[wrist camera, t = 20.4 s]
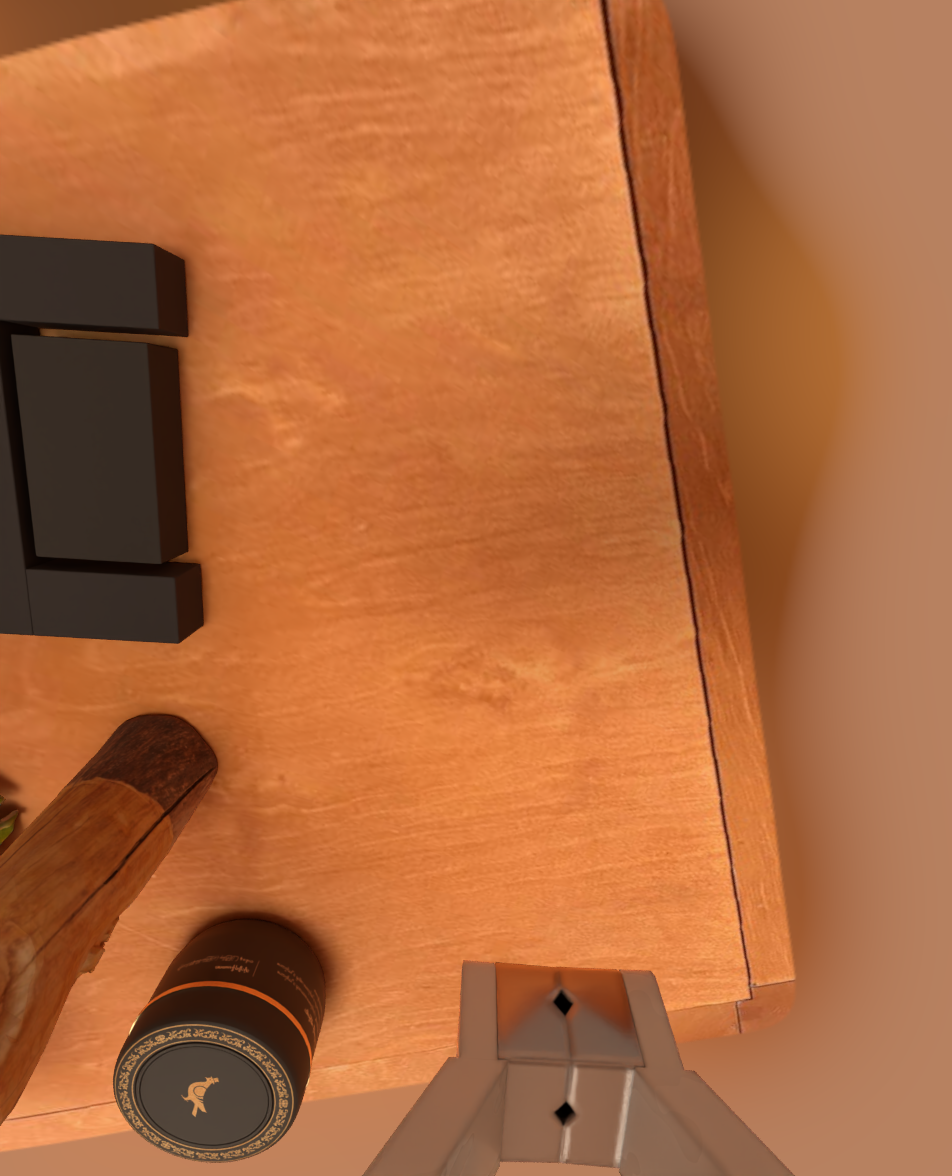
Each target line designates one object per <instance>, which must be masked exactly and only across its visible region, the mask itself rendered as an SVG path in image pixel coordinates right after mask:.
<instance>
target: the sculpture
mask: <svg viewBox="0 0 952 1176" xmlns="http://www.w3.org/2000/svg"><path fill="white" fill-rule="evenodd" d="M216 772H217V761H216V758H215V756H214V753H213V751H212V750H211V749H210V748H209V747H208V745H207V744H206V743H205V742H204V740H203V739H202V738H201V737H200V735H199V734H198V733H197V732H196V731H195V730H194V729H193V728H192V727H191V726H189V725H188V724H187V723H185V722H184V721H182V720H181V719H178V718H176V717H173V716H166V715H145V716H138V717H135V718H133V719H130V720H127V721H126V722H124V723H123V724H122V725H121V726H119V727H118V728H117V730H116V731H115V732H114V733H113V734H112V736H111V737H110V738H109V739H108V740H107V742H106V743H105V744H104V745H103V747H102V748H101V749H100V750H99V751H98V753H97V754H96V755H95V756H94V757H93V758H92V759H91V760H90V761H89V762H88V763H87V764H86V765H85V766H84V767H83V768H82V769H81V770H80V772H79V773H78V774H77V775H76V776H75V777H74V778H73V779H72V780H71V781H70V782H69V783H68V784H67V785H66V786H65V787H64V788H63V789H62V791H61V792H60V793H59V794H58V796H57V797H56V798H55V799H54V800H53V801H52V802H51V803H50V804H49V805H48V806H47V808H46V809H45V810H44V811H43V812H42V813H41V814H40V815H39V816H38V817H37V818H36V819H35V820H34V821H33V822H32V823H31V824H30V826H29V827H28V828H27V829H26V830H25V831H24V832H23V833H22V834H21V835H20V836H19V837H18V838H17V839H16V840H15V841H14V842H13V843H12V844H11V845H10V846H9V847H8V849H7V850H6V851H5V852H4V853H3V854H2V855H1V856H0V1126H1V1124H2V1123H3V1122H4V1120H5V1119H6V1118H7V1116H8V1115H9V1114H10V1113H11V1111H12V1110H13V1109H14V1107H15V1105H16V1104H17V1102H18V1100H19V1098H20V1096H21V1095H22V1093H23V1091H24V1089H25V1087H26V1085H27V1083H28V1081H29V1079H30V1077H31V1075H32V1073H33V1071H34V1069H35V1067H36V1065H37V1063H38V1061H39V1059H40V1057H41V1055H42V1054H43V1052H44V1049H45V1047H46V1045H47V1043H48V1040H49V1038H50V1036H51V1034H52V1032H53V1029H54V1027H55V1025H56V1022H57V1020H58V1017H59V1015H60V1013H61V1010H62V1008H63V1006H64V1003H65V1001H66V999H67V996H68V994H69V991H70V989H71V987H72V986H73V984H74V983H75V981H76V980H77V978H78V977H79V976H81V975H82V974H83V973H87V972H89V973H91V972H93V971H94V969H95V966H96V965H97V963H98V962H99V960H100V958H101V956H102V955H103V953H104V952H105V949H104V948H103V947H104V945H105V944H104V942H107V941H108V940H109V938H110V935H111V933H112V931H113V929H114V927H115V925H116V923H117V922H118V920H119V915H120V914H121V913H122V912H123V911H124V910H125V909H126V908H127V907H128V906H129V905H130V904H131V903H132V902H133V901H134V900H135V898H136V897H137V896H138V894H139V893H140V892H141V890H142V889H143V888H144V886H145V885H146V883H147V882H148V881H149V879H150V878H151V876H152V875H153V873H154V872H155V871H156V869H157V868H158V866H159V865H160V863H161V862H162V860H163V859H164V858H165V856H166V855H167V854H168V852H169V851H170V849H171V848H172V846H173V844H174V843H175V841H176V840H177V838H178V836H179V835H180V833H181V832H182V830H183V829H184V827H185V825H186V824H187V822H188V821H189V819H190V817H191V816H192V814H193V813H194V811H195V809H196V808H197V806H198V804H199V803H200V801H201V800H202V798H203V797H204V795H205V794H206V792H207V790H208V789H209V787H210V785H211V783H212V781H213V779H214V777H215V774H216Z"/></svg>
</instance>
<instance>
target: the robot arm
mask: <svg viewBox="0 0 952 1176" xmlns="http://www.w3.org/2000/svg"><path fill="white" fill-rule="evenodd" d="M500 1162H542V1163H544V1162H547V1163H566V1164H577V1165H589V1166H600V1167H611V1168H620V1169H619V1173H620V1174H621V1176H795V1175H794V1174H793V1173H792V1172H790V1170H789V1169H788V1168H787V1167H786V1166H785V1165H784V1164H783V1163H782V1162H781V1161H780V1160H779V1159H778V1158H777V1157H776V1156H775V1155H774V1153H773V1152H772V1151H771V1150H770V1149H769V1148H768V1147H767V1146H766V1145H765V1144H764V1143H763V1142H762V1141H761V1140H760V1139H759V1138H758V1137H757V1136H756V1135H755V1134H754V1133H753V1132H752V1131H751V1129H750V1128H748V1126H747V1125H746V1124H745V1123H744V1122H743V1121H742V1120H741V1119H740V1118H739V1117H738V1116H737V1115H736V1114H735V1113H734V1112H733V1111H732V1110H731V1109H730V1108H729V1106H727V1104H726V1103H725V1102H724V1101H723V1100H722V1099H721V1098H720V1097H719V1096H718V1095H717V1094H716V1093H715V1092H714V1091H713V1090H712V1089H711V1088H710V1087H709V1086H708V1085H707V1084H706V1083H705V1081H703V1079H702V1078H701V1077H700V1076H699V1075H698V1074H697V1073H696V1072H695V1071H690V1070H684V1068H683V1064H682V1061H681V1058H680V1055H679V1052H678V1048H677V1045H676V1042H675V1039H674V1035H673V1032H672V1029H671V1026H670V1023H669V1019H668V1016H667V1013H666V1010H665V1007H664V1003H663V1000H662V997H661V994H660V991H659V987H658V984H657V981H656V978H655V976H654V974H653V973H652V972H651V971H641V970H619V971H618V970H616V969H594V968H572V967H547V966H535V965H523V964H511V963H499V962H495V964H494V963H489V962H478V961H467V960H463V965H462V977H461V992H460V1008H459V1023H458V1039H457V1054H456V1057H449V1058H448V1059H447V1060H446V1062H445V1063H444V1064H443V1066H442V1067H441V1069H440V1070H439V1071H438V1073H437V1074H436V1075H435V1077H434V1078H433V1080H432V1081H431V1082H430V1084H429V1085H428V1086H427V1088H426V1089H425V1090H424V1092H423V1093H422V1095H421V1096H420V1097H419V1099H418V1100H417V1101H416V1103H415V1104H414V1106H413V1107H412V1108H411V1110H410V1111H409V1112H408V1114H407V1115H406V1117H405V1118H404V1119H403V1121H402V1122H401V1124H400V1125H399V1126H398V1127H397V1129H396V1130H395V1132H394V1133H393V1134H392V1136H391V1137H390V1139H389V1140H388V1141H387V1143H386V1144H385V1145H384V1147H383V1148H382V1149H381V1151H380V1152H379V1154H378V1155H377V1156H376V1158H375V1159H374V1160H373V1162H372V1163H371V1164H370V1166H369V1167H368V1169H367V1170H366V1171H365V1173H364V1174H363V1175H362V1176H495V1175H496V1172H497V1170H498V1168H499V1166H500Z"/></svg>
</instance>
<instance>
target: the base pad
mask: <svg viewBox="0 0 952 1176" xmlns="http://www.w3.org/2000/svg"><path fill="white" fill-rule="evenodd" d="M38 328H47V329H64V330H81V331H98V332H115V333H131V334H148V335H165V336H182V337H187V336H188V323H187V304H186V285H185V266H184V260H183V259H181V258H179V257H177V256H175V255H173V254H171V253H169V252H168V251H166V250H164V249H162V248H160V247H158V246H156V245H154V244H147V243H131V242H114V241H97V240H81V239H64V238H47V237H31V236H14V235H0V633H2V634H20V635H37V636H54V637H72V638H89V639H107V640H124V641H142V642H159V643H177V644H178V643H180V642H182V641H183V640H184V639H186V638H187V637H188V636H190V635H191V634H192V633H194V632H195V631H196V630H198V629H199V628H200V627H202V626H203V606H202V587H201V568H200V564H190V563H172V562H164V563H162V564H150V563H134V562H118V561H102V560H86V559H70V558H54V557H38V556H36V549H35V540H34V532H33V523H32V514H31V505H30V497H29V488H28V479H27V470H26V462H25V453H24V444H23V436H22V427H21V418H20V409H19V401H18V392H17V383H16V374H15V366H14V357H13V348H12V340H11V335H12V334H17V335H32V336H39V330H38Z"/></svg>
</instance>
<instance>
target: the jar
mask: <svg viewBox="0 0 952 1176" xmlns="http://www.w3.org/2000/svg"><path fill="white" fill-rule="evenodd" d="M324 1011H325V981H324V975H323V971H322V968H321V965H320V963H319V961H318V959H317V957H316V956H315V954H314V953H313V952H312V950H311V949H310V948H309V946H308V945H307V944H306V943H305V942H304V941H303V940H302V939H301V938H300V937H298V936H297V935H296V934H294V933H293V932H291V931H290V930H288V929H286V928H284V927H282V926H280V925H277V924H274V923H271V922H267V921H263V920H255V919H240V920H233V921H229V922H224V923H221V924H218V925H215V926H212V927H210V928H208V929H207V930H205V931H203V932H202V933H200V934H199V935H198V936H196V937H195V938H194V939H193V940H192V941H191V942H190V943H189V944H188V945H187V946H186V947H185V948H184V949H183V950H182V951H181V952H180V953H179V954H178V955H177V956H176V958H175V959H174V960H173V962H172V963H171V964H170V966H169V968H168V969H167V971H166V973H165V974H164V976H163V978H162V980H161V981H160V983H159V985H158V987H157V988H156V990H155V992H154V994H153V995H152V997H151V999H150V1001H149V1002H148V1004H147V1005H146V1006H145V1007H144V1008H143V1010H142V1011H141V1012H140V1013H139V1015H138V1017H137V1018H136V1020H135V1022H134V1024H133V1025H132V1028H131V1030H130V1033H129V1036H128V1037H127V1039H126V1041H125V1043H124V1045H123V1047H122V1049H121V1052H120V1054H119V1056H118V1059H117V1062H116V1065H115V1069H114V1076H113V1089H114V1095H115V1099H116V1102H117V1104H118V1107H119V1109H120V1111H121V1113H122V1114H123V1116H124V1118H125V1119H126V1121H127V1122H128V1123H129V1125H130V1126H131V1127H132V1128H133V1129H134V1130H135V1131H136V1132H137V1133H138V1134H139V1135H140V1136H141V1137H143V1138H144V1139H145V1140H146V1141H148V1142H149V1143H151V1144H152V1145H154V1146H156V1147H158V1148H159V1149H161V1150H163V1151H165V1152H168V1153H170V1154H172V1155H175V1156H178V1157H181V1158H185V1159H189V1160H194V1161H200V1162H211V1163H216V1162H217V1163H221V1162H231V1161H237V1160H242V1159H245V1158H249V1157H252V1156H254V1155H257V1154H259V1153H261V1152H263V1151H265V1150H267V1149H268V1148H270V1147H272V1146H273V1145H274V1144H276V1143H277V1142H278V1141H279V1140H280V1139H281V1138H282V1137H283V1136H284V1135H285V1134H286V1132H287V1131H288V1130H289V1129H290V1127H291V1126H292V1124H293V1122H294V1120H295V1118H296V1116H297V1113H298V1111H299V1108H300V1105H301V1103H302V1099H303V1096H304V1093H305V1089H306V1087H307V1084H308V1081H309V1077H310V1073H311V1067H312V1060H313V1056H314V1052H315V1048H316V1044H317V1041H318V1037H319V1033H320V1029H321V1025H322V1021H323V1017H324Z"/></svg>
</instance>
